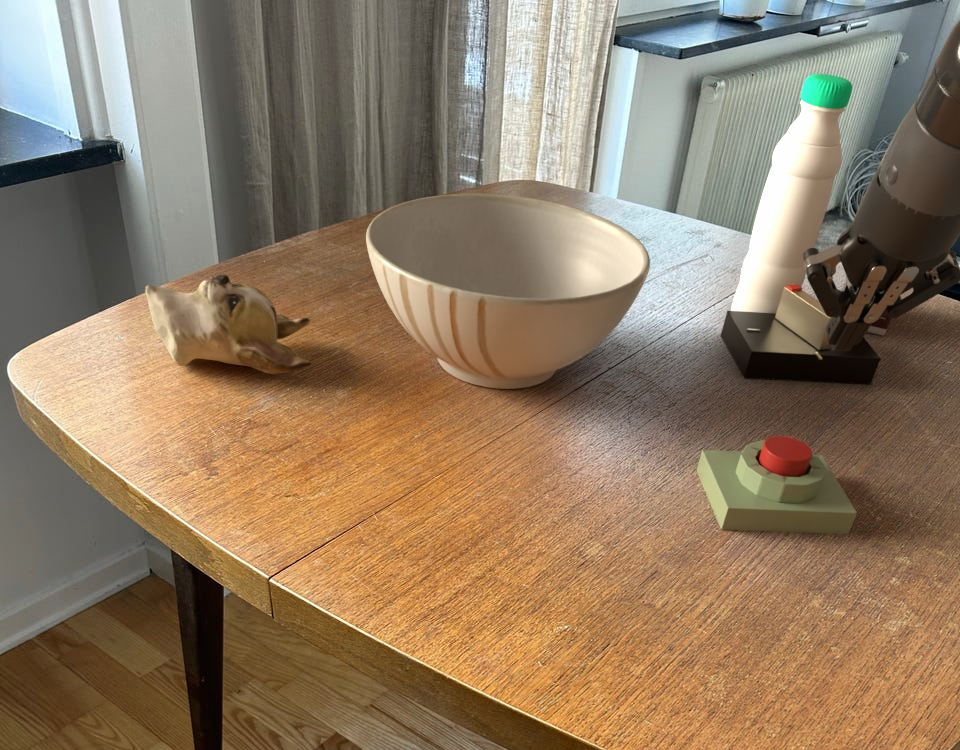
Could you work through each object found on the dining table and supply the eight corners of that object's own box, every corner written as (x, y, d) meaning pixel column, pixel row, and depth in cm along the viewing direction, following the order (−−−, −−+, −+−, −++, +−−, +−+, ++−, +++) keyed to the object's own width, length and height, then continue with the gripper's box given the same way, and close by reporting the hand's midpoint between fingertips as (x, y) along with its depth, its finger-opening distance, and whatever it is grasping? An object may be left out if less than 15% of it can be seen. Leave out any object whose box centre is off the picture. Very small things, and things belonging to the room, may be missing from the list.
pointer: (831, 349, 99) (843, 314, 97) (818, 350, 99) (830, 315, 96) (786, 316, 105) (796, 283, 102) (774, 318, 104) (784, 284, 102)
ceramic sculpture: (149, 245, 89) (311, 260, 92) (157, 332, 95) (309, 343, 98) (136, 293, 82) (313, 307, 85) (145, 385, 87) (310, 395, 90)
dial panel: (835, 338, 109) (845, 311, 107) (874, 389, 100) (885, 361, 98) (717, 331, 108) (725, 304, 105) (746, 383, 99) (755, 354, 96)
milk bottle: (786, 338, 108) (865, 90, 91) (725, 324, 109) (792, 78, 92) (792, 315, 113) (867, 77, 96) (733, 302, 114) (797, 65, 97)
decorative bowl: (384, 432, 85) (386, 300, 77) (351, 306, 104) (351, 190, 96) (663, 423, 91) (693, 299, 83) (584, 305, 110) (602, 195, 102)
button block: (813, 475, 86) (828, 436, 83) (848, 534, 79) (865, 494, 77) (696, 470, 85) (707, 431, 82) (720, 530, 78) (733, 489, 76)
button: (797, 454, 81) (804, 436, 80) (812, 480, 78) (819, 461, 77) (752, 452, 81) (758, 434, 80) (765, 478, 78) (772, 459, 77)
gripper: (1012, 139, 69) (903, 311, 85) (834, 134, 68) (757, 308, 84) (1039, 215, 66) (921, 378, 82) (852, 210, 65) (770, 376, 81)
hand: (838, 343), depth 83 cm, fingers closed
